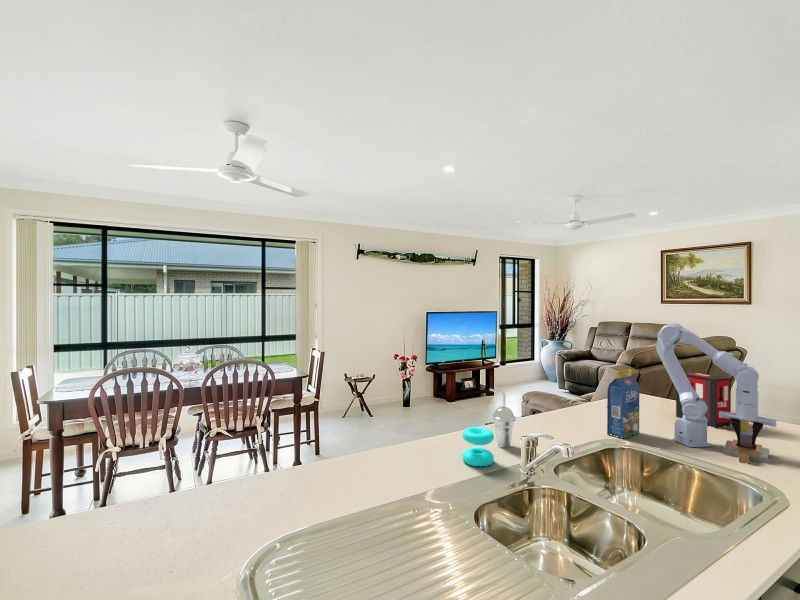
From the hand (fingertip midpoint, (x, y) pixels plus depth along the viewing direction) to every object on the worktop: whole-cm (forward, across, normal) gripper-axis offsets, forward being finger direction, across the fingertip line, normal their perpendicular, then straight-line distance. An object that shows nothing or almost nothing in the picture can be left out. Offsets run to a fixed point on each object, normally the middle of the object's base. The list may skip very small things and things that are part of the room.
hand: (746, 442), depth 133 cm
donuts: (+4, +60, +71) cm, 93 cm away
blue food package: (+4, +36, +8) cm, 37 cm away
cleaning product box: (+4, +16, -35) cm, 39 cm away
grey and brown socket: (+4, 0, +2) cm, 4 cm away
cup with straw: (+4, +62, +52) cm, 81 cm away
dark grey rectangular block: (+4, 0, 0) cm, 4 cm away
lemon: (+4, +4, -28) cm, 29 cm away
